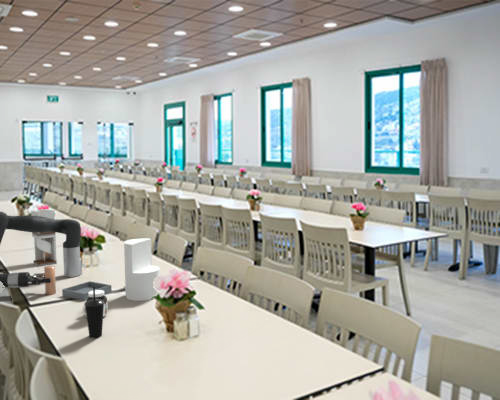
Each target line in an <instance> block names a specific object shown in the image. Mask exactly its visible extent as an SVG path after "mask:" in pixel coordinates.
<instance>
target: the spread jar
mask: <svg viewBox="0 0 500 400" xmlns="http://www.w3.org/2000/svg"><path fill="white" fill-rule="evenodd" d="M88 296H89V297H88V298H87V300H85V302H87V301H89V300H92V299H93V291H90V292H88ZM95 299H100V300H103V301H104V302H105V303H104V309H103V320H104V319H105V318H106V316H107V314H108V309H109V308H108V307H109V306H108V305H109V304H108V303H109V302H108V298H107V295H106V294H104V291H103V290H95ZM82 312H83V313H84V314H85V316H86V317H87V315H86V308H85V305H84V304H83V307H82Z"/></svg>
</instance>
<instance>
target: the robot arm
mask: <svg viewBox="0 0 500 400" xmlns="http://www.w3.org/2000/svg"><path fill="white" fill-rule="evenodd" d="M6 230H13V231H19V232H26V233H32V232H34V233H44V232H55V233H58V234H62V235H65V236H66V237H65V241H63V243H62V251H63V252H62V254H63V256H62V258H63V277H66V278H75V277H79V276H81V275H83V268H82V267H83V264H82V263H83V260H82V258H81V250H80V249H81V248H80V247H81V246H80V245H81V241H82V240H81V239H82V227H81V224H80V222H79V221H77V220H75V219H71V218H66V219H65V218H64V219H56V218H55V219H50V218H46V217H41V216H31V215H9V214H7V213H6V212H4V211H0V245H1V244H2V240H3V237H4V236H5V232H6ZM0 281H1V282H2V283H3V285H4V286H5V287H4V288H28V287H30V286H39V285H43V284H45V283H50V282H51V279H50V278H45V272H44V273H42V272H41V273H38V272H37V273H34V274H32V275H31V274H30V272H29V271H23V272H21V271H20V272H19V271H18V272H11V273H0Z"/></svg>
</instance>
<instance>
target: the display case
mask: <svg viewBox="0 0 500 400" xmlns="http://www.w3.org/2000/svg"><path fill="white" fill-rule="evenodd" d="M30 212H31V213H30V216H41V217H46V218H50V219H56V218H55V210H53V209H50V208H42V209H32V210H30ZM31 234H32V235H31V236H32V238H34V239H33V240H34V242H33V243H34V259H33V264H34V265H35V266H38V267H46V265H47V266H54V265H57V263H58V261H57V242H56V241H57V240H56V239H57V237H56V232H44V233H34V232H31Z"/></svg>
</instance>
